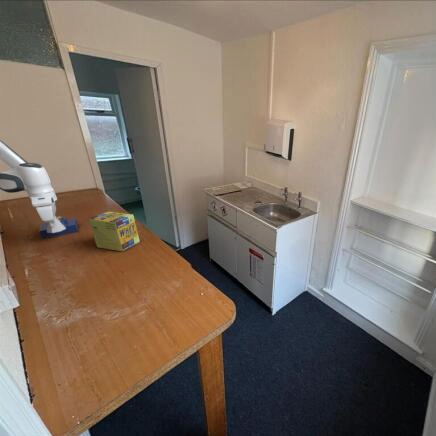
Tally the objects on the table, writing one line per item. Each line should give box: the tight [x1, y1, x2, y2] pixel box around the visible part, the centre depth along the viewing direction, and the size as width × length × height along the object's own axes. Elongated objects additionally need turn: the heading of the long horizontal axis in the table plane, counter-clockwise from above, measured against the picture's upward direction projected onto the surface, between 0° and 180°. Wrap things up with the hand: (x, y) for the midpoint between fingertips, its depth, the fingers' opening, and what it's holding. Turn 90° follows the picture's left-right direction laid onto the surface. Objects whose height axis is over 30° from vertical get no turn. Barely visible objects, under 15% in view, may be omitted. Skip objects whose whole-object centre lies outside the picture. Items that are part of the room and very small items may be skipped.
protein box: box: [87, 211, 140, 252], centre depth 114 cm, size 10×15×16 cm
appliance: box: [39, 217, 79, 239], centre depth 127 cm, size 14×11×6 cm
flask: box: [47, 216, 66, 233], centre depth 116 cm, size 7×7×10 cm
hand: (54, 223), depth 116 cm, fingers closed on flask, 5 cm apart
